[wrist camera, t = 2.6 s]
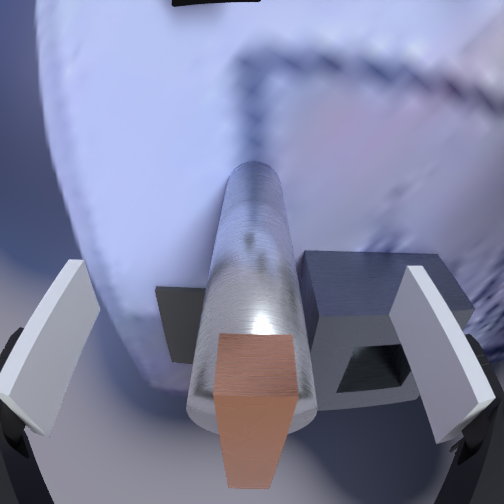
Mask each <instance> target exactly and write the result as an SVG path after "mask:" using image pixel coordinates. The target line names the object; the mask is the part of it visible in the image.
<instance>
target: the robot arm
mask: <svg viewBox="0 0 504 504" xmlns="http://www.w3.org/2000/svg"><path fill="white" fill-rule="evenodd" d="M99 312H100V307H99V304H98V301H97V299H96V296H95V293H94V290H93V287H92V284H91V281H90V278H89V275H88V272H87V269H86V265H85V262H84V260H68V262H67V263H66V264H65V266H64V267H63V269H62V270H61V272H60V273H59V275H58V276H57V278H56V279H55V281H54V282H53V283H52V285H51V287H50V288H49V290H48V291H47V293H46V294H45V296H44V297H43V299H42V300H41V302H40V304H39V305H38V307H37V308H36V310H35V312H34V313H33V315H32V316H31V318H30V320H29V321H28V323H27V325H26V326H25V328H21V327H20V328H19V329H18V330H17V331H16V332H15V333H14V334H13V335H11V337H10V338H9V340H8V342H7V344H6V346H5V349H3V351H2V353H1V355H0V504H54V502H53V500H52V498H51V496H50V493H49V491H48V489H47V487H46V484H45V482H44V480H43V477H42V475H41V473H40V470H39V467H38V465H37V462H36V460H35V457H34V454H33V451H32V448H31V446H30V443H29V440H28V437H27V435H26V433H25V431H24V428H25V425H26V426H28V427H29V428H30V429H31V430H32V431H33V432H34V433H37V434H40V435H43V436H46V437H49V438H50V436H51V433H52V430H53V427H54V424H55V421H56V418H57V415H58V412H59V409H60V407H61V404H62V401H63V398H64V396H65V393H66V390H67V388H68V385H69V382H70V380H71V377H72V375H73V372H74V369H75V367H76V365H77V362H78V359H79V357H80V355H81V352H82V350H83V348H84V345H85V343H86V341H87V339H88V336H89V334H90V332H91V329H92V327H93V325H94V323H95V321H96V318H97V316H98V314H99ZM389 316H390V318H391V321H392V323H393V325H394V328H395V330H396V333H397V335H398V337H399V340H400V342H401V345H402V347H403V350H404V352H405V355H406V357H407V360H408V363H409V365H410V368H411V370H412V373H413V376H414V378H415V381H416V384H417V387H418V389H419V392H420V395H421V398H422V401H423V403H424V406H425V410H426V412H427V416H428V419H429V422H430V425H431V428H432V431H433V434H434V437H435V441H436V443H437V444H438V443H441V442H444V441H447V440H451V439H453V438H454V437H456V436H457V435H458V434H459V433H460V432H461V431H462V433H463V435H464V437H463V438H462V439H461V440H460V441H458V442H457V443H456V444H455V445H454V446H452V447H451V449H450V452H452V451H454V450H455V449H456V448H457V447H458V449H457V451H456V452H455V456H454V459H453V462H452V464H451V467H450V469H449V472H448V474H447V476H446V479H445V481H444V483H443V485H442V488H441V490H440V492H439V494H438V496H437V498H436V500H435V503H434V504H504V391H503V389H502V387H501V385H500V383H499V381H498V379H497V377H496V375H495V373H494V371H493V369H492V367H491V365H489V361H488V359H487V357H486V356H485V355H484V354H485V353H484V352H483V350H482V348H481V346H480V344H479V343H478V342H477V341H476V340H475V339H474V338H473V337H472V336H471V335H470V334H466V335H464V333H463V332H462V330H461V328H460V326H459V325H458V323H457V321H456V319H455V318H454V316H453V314H452V312H451V311H450V309H449V307H448V306H447V304H446V302H445V301H444V299H443V298H442V296H441V294H440V293H439V291H438V289H437V288H436V286H435V285H434V283H433V282H432V280H431V278H430V277H429V275H428V274H427V272H426V271H425V269H424V268H423V266H407V267H406V270H405V273H404V276H403V279H402V281H401V284H400V287H399V290H398V292H397V295H396V297H395V300H394V303H393V305H392V308H391V310H390V313H389Z"/></svg>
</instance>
